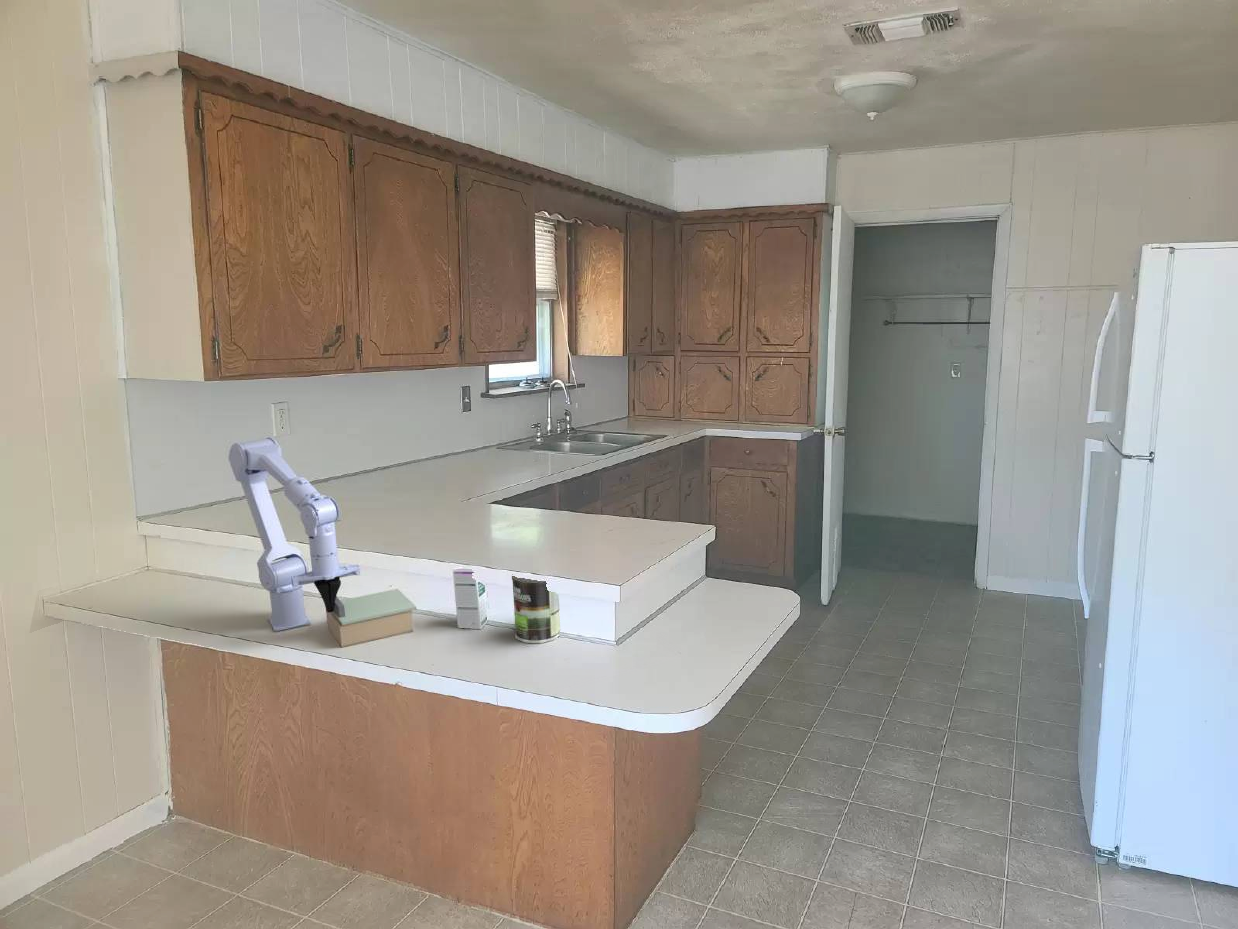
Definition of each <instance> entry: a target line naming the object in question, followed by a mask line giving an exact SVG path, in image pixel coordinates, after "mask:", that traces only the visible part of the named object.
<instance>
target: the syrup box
mask: <svg viewBox="0 0 1238 929" xmlns="http://www.w3.org/2000/svg"><path fill="white" fill-rule="evenodd" d="M456 567H457V566H456ZM456 567H455V568H453V569H452V575H453V577H452V578H453V587H454V598H455V599H454V600H455V601H454V602H455V608H456V622H457V628H458V629H462V628H470V629H469V630H482V628H483V627H484V626H485V625H486V624H487V623H488V622H487V602H486V593H485V585H483V584H482V583H480V582H477V581H476V580H475V579H473V578H472V576H473V575H472V573H474V572H473V571H472V569H471V568H462V567H457V568H456Z"/></svg>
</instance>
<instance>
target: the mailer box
mask: <svg viewBox="0 0 1238 929" xmlns="http://www.w3.org/2000/svg"><path fill="white" fill-rule="evenodd" d="M412 611H413V610H411V611H406V612H402V613H397V614H392V615H388V616H383V617H379V618H374V619H369V620H365V621H360V622H355V623H351V624H346V625H342V624H341V623H340V622H339V620H338V619H337V618H336V616H335V615H334V614H333V612H329V613H328V612H327V611H326V610H325V614H326V615H325V616H326V623H327V625H326V626H327V629H328V630H329V632H330V633H331V634H332V635H333V637H334V639H335V640H336V641H337V643H338V644H339V646H340V647H341V648H342V647H343V648H346V647H350V646H356V645H360V644H364V643H369V642H373V641H378V640H382V639H386V638H390V637H395V636H399V635H405V634H407V633H413V632H414V623H413V614H412Z"/></svg>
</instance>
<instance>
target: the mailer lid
mask: <svg viewBox="0 0 1238 929" xmlns="http://www.w3.org/2000/svg"><path fill="white" fill-rule="evenodd" d="M415 610H417V606H416V605H415V604H414V603H413V602H412V601H411V600H410V599H409V598H408V597H407V596H406V595H405V594H404V593H403V592H402V591H401V590H400V589H399V588H395V589H391V590H390V589H389V590H386V591H380V592H379V591H378V592H374V593H370V594H366V595H365V594H364V595H360V596H354V597H351V598H346V599H339V597H338V596H337V595H336V599H335V604H334V612H333V614H334V615H335V616H336V618H337V619H338V620H339V622H340V623H341V624H342V625H346V624H351V623H355V622H360V621H365V620H369V619H374V618H379V617H383V616H388V615H392V614H397V613H402V612H406V611H415Z"/></svg>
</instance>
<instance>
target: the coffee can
mask: <svg viewBox="0 0 1238 929" xmlns="http://www.w3.org/2000/svg"><path fill="white" fill-rule="evenodd" d="M511 580H512V592H513V593H512V594H513V595H512V596H513V608H514V610H513V611H514V631H515V634H514V637H515V638H516V640H518V641H519V642H521V643H525V644H526V643H527V644H544V643H548V641H549V642H552V641H555V640H556V639H558V638H559V637H560V636H559V633H560V631H561V616H559V611H560V595H559V596H558V594H557V593H555V592H551V591H548V590H547V587H546V584H547V583H546V581H537V580H531V579H525V578H517V577H515V576H512V575H511ZM558 597H559V598H558ZM558 636H559V637H558ZM557 637H558V638H557ZM555 638H556V639H555ZM554 639H555V640H554ZM551 640H552V641H551Z"/></svg>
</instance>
